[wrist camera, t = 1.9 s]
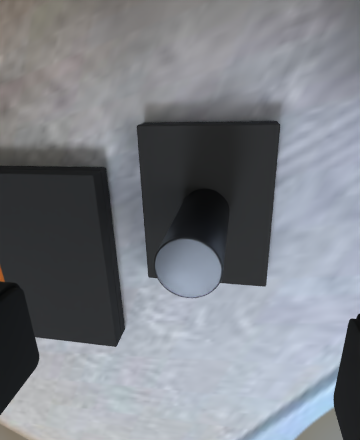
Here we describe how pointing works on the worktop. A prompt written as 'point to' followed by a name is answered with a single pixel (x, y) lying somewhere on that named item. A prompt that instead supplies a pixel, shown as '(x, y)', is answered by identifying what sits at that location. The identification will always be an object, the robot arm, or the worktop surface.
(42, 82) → the worktop surface
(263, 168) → the black pad
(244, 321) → the worktop surface
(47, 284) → the base pad
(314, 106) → the worktop surface
